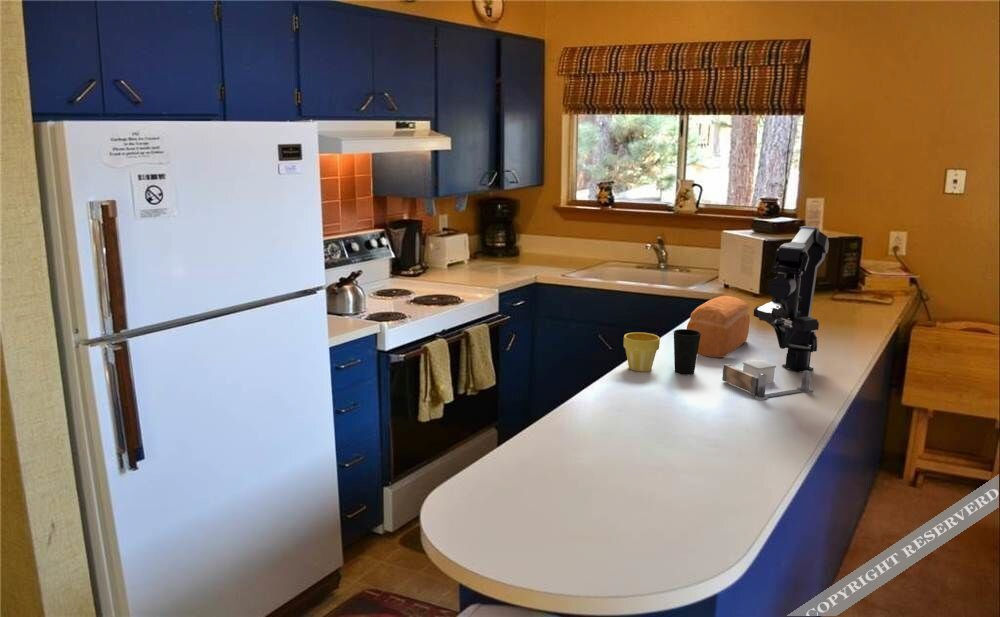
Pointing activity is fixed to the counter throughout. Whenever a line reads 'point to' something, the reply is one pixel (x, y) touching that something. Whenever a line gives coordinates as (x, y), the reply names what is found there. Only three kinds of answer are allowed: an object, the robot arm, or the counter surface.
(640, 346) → the plant pot
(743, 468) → the counter surface
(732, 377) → the gate
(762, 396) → the hinge post
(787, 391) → the strip
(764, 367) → the base block
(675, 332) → the cup
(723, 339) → the bread
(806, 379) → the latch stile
